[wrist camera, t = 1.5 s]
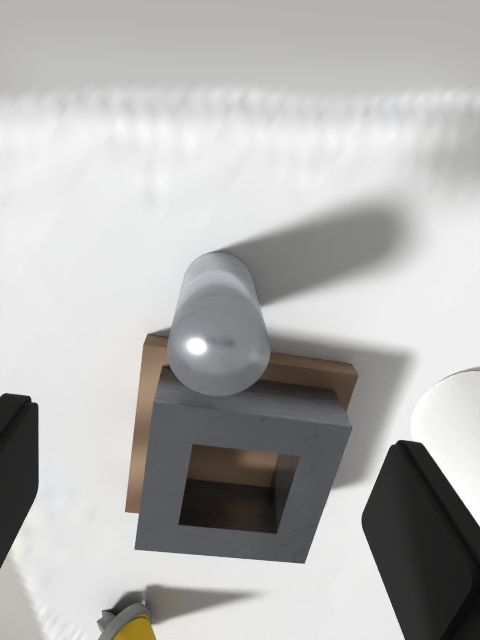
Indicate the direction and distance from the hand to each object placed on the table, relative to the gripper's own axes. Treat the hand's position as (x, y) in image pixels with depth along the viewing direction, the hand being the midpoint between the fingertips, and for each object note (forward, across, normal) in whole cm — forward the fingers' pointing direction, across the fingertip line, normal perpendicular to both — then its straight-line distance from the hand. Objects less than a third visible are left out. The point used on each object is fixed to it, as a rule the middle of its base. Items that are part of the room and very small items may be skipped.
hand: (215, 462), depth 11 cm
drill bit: (+16, +2, +32) cm, 35 cm away
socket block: (+14, -3, +12) cm, 19 cm away
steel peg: (+16, 0, +1) cm, 16 cm away
